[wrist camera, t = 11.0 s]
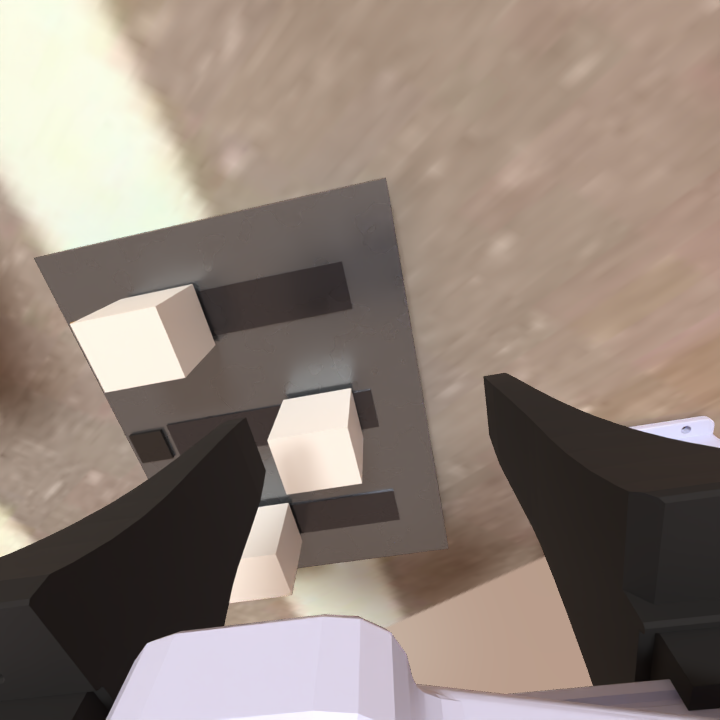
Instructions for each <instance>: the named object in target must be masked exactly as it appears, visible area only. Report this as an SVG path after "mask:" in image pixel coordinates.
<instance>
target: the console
mask: <svg viewBox="0 0 720 720" xmlns="http://www.w3.org/2000/svg"><path fill="white" fill-rule="evenodd" d="M34 259H35V261H36V263H37V265H38V267H39V269H40V271H41V273H42V275H43V277H44V279H45V281H46V283H47V285H48V287H49V288H50V290H51V292H52V294H53V296H54V298H55V300H56V302H57V304H58V306H59V308H60V310H61V312H62V314H63V315H64V317H65V319H66V321H67V323H68V325H69V327H70V329H71V331H72V333H73V335H74V337H75V339H76V341H77V342H78V344H79V346H80V348H81V350H82V352H83V354H84V356H85V358H86V360H87V362H88V364H89V366H90V368H91V370H92V371H93V373H94V375H95V377H96V379H97V381H98V383H99V385H100V387H101V389H102V391H103V393H104V395H105V397H106V398H107V400H108V402H109V404H110V406H111V408H112V410H113V412H114V414H115V416H116V418H117V420H118V422H119V424H120V425H121V427H122V429H123V431H124V433H125V435H126V437H127V439H128V441H129V443H130V445H131V447H132V449H133V451H134V453H135V454H136V456H137V458H138V460H139V462H140V464H141V466H142V468H143V470H144V472H145V474H146V476H147V478H148V479H149V478H151V477H152V476H153V475H155V474H156V473H158V472H159V471H160V470H162V469H163V468H164V467H166V466H167V465H168V464H170V463H171V462H173V461H174V460H175V459H177V458H178V457H179V456H180V455H182V454H183V453H184V452H186V451H187V450H188V449H189V448H191V447H192V446H193V445H194V444H196V443H197V442H198V441H200V440H201V439H202V438H203V437H205V436H206V435H207V434H209V433H210V432H211V431H213V430H214V429H215V428H217V427H218V426H219V425H221V424H223V423H224V422H226V421H228V420H234V419H240V418H247V421H248V424H249V427H250V429H251V432H252V435H253V437H254V440H255V443H256V445H257V448H258V451H259V453H260V456H261V459H262V461H263V464H264V467H265V470H266V473H265V479H264V486H263V491H262V496H261V501H260V504H259V507H263V506H270V505H277V504H284V503H289V505H290V508H291V511H292V514H293V516H294V519H295V522H296V525H297V528H298V530H299V533H300V536H301V539H302V545H301V551H300V556H299V561H298V566H297V568H302V567H310V566H318V565H325V564H333V563H341V562H348V561H356V560H364V559H371V558H379V557H387V556H394V555H402V554H410V553H418V552H425V551H433V550H441V549H448V542H447V536H446V530H445V525H444V519H443V513H442V507H441V501H440V495H439V489H438V483H437V477H436V471H435V465H434V459H433V454H432V448H431V442H430V436H429V430H428V424H427V418H426V412H425V406H424V400H423V394H422V388H421V382H420V377H419V371H418V365H417V359H416V353H415V347H414V341H413V335H412V329H411V323H410V317H409V311H408V305H407V300H406V294H405V288H404V282H403V276H402V270H401V264H400V258H399V252H398V246H397V240H396V234H395V228H394V223H393V217H392V211H391V205H390V199H389V193H388V187H387V181H386V178H381V179H377V180H372V181H368V182H364V183H359V184H355V185H350V186H346V187H342V188H337V189H333V190H329V191H324V192H320V193H315V194H311V195H307V196H302V197H298V198H293V199H289V200H285V201H280V202H276V203H272V204H267V205H263V206H258V207H254V208H250V209H245V210H241V211H236V212H232V213H228V214H223V215H219V216H214V217H210V218H206V219H201V220H197V221H193V222H188V223H184V224H179V225H175V226H171V227H166V228H162V229H157V230H153V231H149V232H144V233H140V234H136V235H131V236H127V237H122V238H118V239H114V240H109V241H105V242H100V243H96V244H92V245H87V246H83V247H78V248H74V249H70V250H65V251H61V252H57V253H53V254H49V255H44V256H40V257H36V258H34ZM190 284H193V286H194V289H195V292H196V294H197V297H198V300H199V302H200V305H201V308H202V310H203V313H204V316H205V318H206V321H207V324H208V326H209V329H210V332H211V334H212V337H213V340H214V342H215V346H214V347H213V348H212V349H211V351H210V352H209V353H208V354H207V355H206V356H205V357H204V358H203V359H202V360H201V361H200V362H199V364H198V365H197V366H196V367H195V368H194V369H193V370H192V371H191V372H190V373H189V374H188V375H187V376H186V378H181V379H176V380H170V381H165V382H160V383H154V384H149V385H144V386H138V387H133V388H127V389H122V390H117V391H111V392H106V393H105V392H104V390H103V388H102V386H101V384H100V382H99V380H98V378H97V376H96V374H95V372H94V370H93V368H92V366H91V364H90V362H89V361H88V359H87V357H86V355H85V353H84V351H83V349H82V347H81V345H80V343H79V341H78V339H77V337H76V335H75V333H74V331H73V330H72V328H71V326H70V324H71V323H73V322H75V321H77V320H79V319H81V318H83V317H85V316H87V315H89V314H91V313H93V312H95V311H98V310H100V309H102V308H104V307H106V306H108V305H110V304H112V303H114V302H116V301H118V300H120V299H124V298H129V297H133V296H138V295H143V294H148V293H152V292H157V291H162V290H166V289H171V288H176V287H181V286H185V285H190ZM349 388H351V389H352V393H353V398H354V402H355V406H356V410H357V414H358V418H359V422H360V426H361V430H362V434H363V471H362V484H355V485H348V486H342V487H335V488H328V489H322V490H315V491H308V492H302V493H295V494H288V495H287V494H286V491H285V489H284V486H283V483H282V480H281V477H280V475H279V472H278V469H277V466H276V463H275V461H274V458H273V455H272V452H271V449H270V447H269V444H268V441H267V440H268V438H269V435H270V432H271V430H272V427H273V425H274V422H275V420H276V417H277V415H278V412H279V410H280V407H281V404H282V402H283V400H286V399H292V398H297V397H303V396H309V395H315V394H320V393H326V392H332V391H337V390H343V389H349Z"/></svg>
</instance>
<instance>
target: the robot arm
mask: <svg viewBox="0 0 720 720" xmlns="http://www.w3.org/2000/svg"><path fill="white" fill-rule="evenodd" d="M484 386H485V396H486V406H487V416H488V426H489V436H490V438H491V441H492V444H493V447H494V450H495V453H496V455H497V458H498V461H499V464H500V466H501V468H502V470H503V472H504V474H505V476H506V477H507V479H508V481H509V483H510V485H511V487H512V489H513V491H514V493H515V495H516V497H517V499H518V501H519V502H520V504H521V506H522V508H523V510H524V512H525V514H526V516H527V518H528V520H529V522H530V523H531V525H532V527H533V529H534V531H535V534H536V536H537V538H538V540H539V542H540V545H541V547H542V550H543V552H544V555H545V557H546V560H547V562H548V565H549V567H550V570H551V572H552V575H553V577H554V579H555V582H556V585H557V588H558V591H559V593H560V596H561V598H562V601H563V604H564V606H565V609H566V611H567V614H568V617H569V620H570V622H571V625H572V628H573V631H574V633H575V636H576V639H577V642H578V644H579V647H580V650H581V653H582V655H583V658H584V661H585V663H586V667H587V669H588V672H589V675H590V678H591V681H592V684H593V686H589V687H578V688H568V689H556V690H547V691H546V690H545V691H535V692H525V693H513V694H500V693H491V692H482V691H474V690H464V689H456V688H447V687H439V686H430V685H421V684H416V683H415V681H414V679H413V677H412V673H411V669H410V665H409V662H408V658H407V654H406V653H405V651H404V650H403V648H402V647H401V646H400V644H399V643H398V642H397V640H396V639H395V637H394V636H393V635H392V633H391V632H389V631H388V630H387V629H385V628H383V627H381V626H379V625H376V624H374V623H372V622H370V621H368V620H365V619H363V618H361V617H359V616H345V615H328V614H324V615H316V616H307V617H299V618H290V619H281V620H273V621H264V622H256V623H247V624H239V625H230V626H224V624H225V619H226V614H227V610H228V605H229V601H230V596H231V592H232V588H233V583H234V580H235V576H236V573H237V569H238V566H239V563H240V560H241V557H242V554H243V551H244V549H245V546H246V543H247V540H248V537H249V534H250V531H251V528H252V525H253V522H254V519H255V516H256V513H257V510H258V507H259V504H260V501H261V496H262V491H263V486H264V479H265V473H266V470H265V467H264V464H263V461H262V459H261V456H260V453H259V451H258V448H257V445H256V443H255V440H254V437H253V435H252V432H251V429H250V427H249V424H248V421H247V418H240V419H234V420H228V421H226V422H224V423H223V424H221V425H219V426H218V427H217V428H215V429H214V430H213V431H211V432H210V433H209V434H207V435H206V436H205V437H203V438H202V439H201V440H200V441H198V442H197V443H196V444H194V445H193V446H192V447H191V448H189V449H188V450H187V451H186V452H184V453H183V454H182V455H180V456H179V457H178V458H177V459H175V460H174V461H173V462H171V463H170V464H168V465H167V466H166V467H164V468H163V469H162V470H160V471H159V472H158V473H156V474H155V475H153V476H152V477H151V478H149V479H148V480H147V481H145V482H144V483H142V484H141V485H139V486H138V487H136V488H135V489H133V490H132V491H130V492H128V493H127V494H125V495H124V496H122V497H120V498H119V499H117V500H116V501H114V502H112V503H111V504H109V505H107V506H105V507H104V508H102V509H100V510H98V511H96V512H94V513H93V514H91V515H89V516H87V517H85V518H83V519H82V520H80V521H78V522H76V523H74V524H72V525H71V526H69V527H67V528H65V529H63V530H60V531H58V532H56V533H54V534H52V535H50V536H48V537H46V538H44V539H42V540H39V541H37V542H35V543H33V544H31V545H29V546H26V547H24V548H22V549H19V550H17V551H15V552H13V553H10V554H8V555H5V556H3V557H0V720H720V439H718V438H717V437H716V436H714V435H713V431H714V422H713V420H711V419H710V418H709V417H706V416H699V417H692V418H686V419H679V420H673V421H666V422H660V423H653V424H647V425H640V426H634V427H626V426H622V425H619V424H616V423H613V422H610V421H607V420H605V419H602V418H599V417H596V416H593V415H591V414H588V413H586V412H583V411H581V410H579V409H576V408H574V407H572V406H569V405H567V404H565V403H563V402H561V401H559V400H556V399H554V398H552V397H550V396H548V395H546V394H544V393H543V392H541V391H539V390H537V389H535V388H533V387H531V386H529V385H528V384H526V383H524V382H522V381H520V380H518V379H517V378H515V377H513V376H511V375H509V374H507V373H501V374H495V375H489V376H484ZM685 426H686V427H685ZM683 427H685V428H684V429H682V428H683Z"/></svg>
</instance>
